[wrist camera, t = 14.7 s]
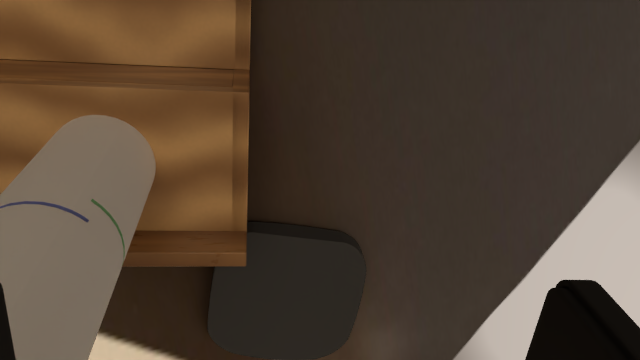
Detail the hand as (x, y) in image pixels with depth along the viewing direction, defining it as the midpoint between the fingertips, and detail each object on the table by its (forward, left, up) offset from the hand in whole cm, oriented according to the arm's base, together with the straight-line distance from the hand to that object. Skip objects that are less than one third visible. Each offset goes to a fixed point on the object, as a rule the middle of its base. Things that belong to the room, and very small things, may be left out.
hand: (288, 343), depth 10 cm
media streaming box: (+27, +3, -40) cm, 48 cm away
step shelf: (+4, -11, -39) cm, 41 cm away
